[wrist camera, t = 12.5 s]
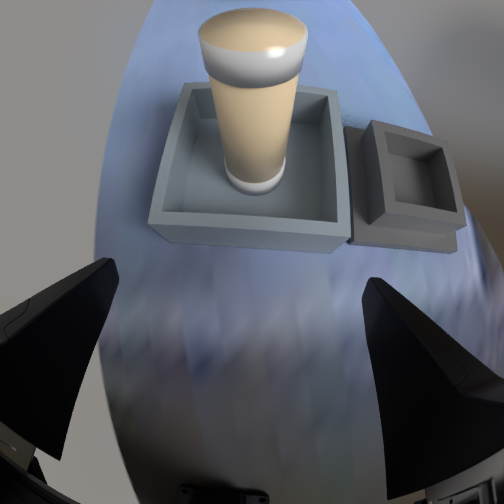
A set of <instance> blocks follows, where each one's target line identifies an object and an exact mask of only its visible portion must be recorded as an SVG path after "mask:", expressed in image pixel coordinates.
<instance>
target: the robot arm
mask: <svg viewBox="0 0 504 504" xmlns="http://www.w3.org/2000/svg"><path fill="white" fill-rule="evenodd" d="M118 283H119V275H118V272H117V268H116V264H115V261H114V259H112V258H105V257H104V258H101V259H99V260H97V261H95V262H94V263H92V264H90V265H88V266H86V267H84V268H82V269H80V270H78V271H77V272H75V273H73V274H71V275H69V276H67V277H66V278H64V279H62V280H60V281H58V282H57V283H55V284H53V285H51V286H50V287H48V288H46V289H44V290H42V291H41V292H39V293H37V294H36V295H34V296H32V297H31V298H29V299H27V300H25V301H24V302H22V303H20V304H19V305H17V306H15V307H14V308H12V309H10V310H8V311H6V312H5V313H3V314H1V315H0V504H80V503H78V502H76V501H74V500H72V499H70V498H68V497H67V496H65V495H63V494H61V493H60V492H58V491H56V490H55V489H53V488H51V487H50V486H48V485H47V482H46V480H45V477H44V475H43V472H42V470H41V468H40V465H39V462H38V460H37V458H36V457H35V456H34V453H35V450H36V447H37V448H38V449H40V450H42V451H43V452H45V453H46V454H48V455H50V456H52V457H53V458H55V459H57V460H59V461H60V459H61V456H62V452H63V447H64V443H65V439H66V435H67V431H68V427H69V423H70V419H71V416H72V412H73V409H74V406H75V402H76V399H77V396H78V393H79V389H80V386H81V384H82V381H83V378H84V375H85V372H86V369H87V366H88V364H89V361H90V358H91V356H92V353H93V350H94V348H95V345H96V343H97V340H98V338H99V335H100V333H101V330H102V328H103V326H104V323H105V321H106V318H107V316H108V313H109V310H110V307H111V304H112V301H113V298H114V295H115V292H116V289H117V286H118ZM362 307H363V315H364V323H365V333H366V340H367V345H368V350H369V354H370V359H371V364H372V369H373V375H374V380H375V386H376V392H377V398H378V404H379V411H380V418H381V426H382V434H383V443H384V455H385V467H386V484H387V500H391V499H395V498H398V497H402V496H405V495H408V494H411V493H414V492H417V491H420V490H422V489H425V493H426V498H424V499H422V500H419V501H416V502H414V504H504V379H503V378H501V377H499V376H498V375H497V374H495V373H494V372H493V371H492V370H490V369H489V368H488V367H487V366H486V365H484V364H483V363H482V362H481V361H479V360H478V359H477V358H476V357H474V356H473V355H472V354H471V353H470V352H468V351H467V350H466V349H465V348H463V347H462V346H461V345H460V344H459V343H458V342H457V341H455V340H454V339H453V338H452V337H451V336H450V335H449V334H447V333H446V332H445V331H444V330H443V329H442V328H441V327H440V326H438V325H437V324H436V323H435V322H434V321H433V320H431V319H430V318H429V317H428V316H427V315H426V314H424V313H423V312H422V311H421V310H420V309H419V308H417V307H416V306H415V305H414V304H412V303H411V302H410V301H409V300H408V299H406V298H405V297H404V296H403V295H402V294H400V293H399V292H398V291H397V290H395V289H394V288H393V287H392V286H390V285H389V284H388V283H387V282H385V281H384V280H383V279H381V278H377V277H371V278H369V279H368V281H367V284H366V287H365V290H364V292H363V295H362ZM183 489H186V490H187V491H185V490H183ZM178 495H179V504H269V495H268V494H266V493H252V492H237V491H227V490H218V489H211V488H204V487H198V486H192V485H187V484H182V485H180V487H179V489H178ZM260 498H265V499H260Z"/></svg>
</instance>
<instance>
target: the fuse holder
mask: <svg viewBox="0 0 504 504" xmlns="http://www.w3.org/2000/svg"><path fill="white" fill-rule="evenodd" d="M343 135H344V143H345V152H346V162H347V173H348V186H349V202H350V225H351V237H350V238H349V245H360V246H371V247H383V248H394V249H405V250H416V251H426V252H437V253H447V254H451V253H454V252H456V251H457V241H456V232H455V231H457V230H459V229H461V228H463V227H465V226H467V225H466V219H465V212H464V207H463V201H462V196H461V191H460V187H459V182H458V178H457V174H456V170H455V166H454V162H453V159H452V155H451V152H450V149H449V145H448V142H447V141H445V140H442V139H439V138H436V137H433V136H430V135H427V134H424V133H421V132H417V131H414V130H410V129H407V128H403V127H399V126H396V125H392V124H388V123H383V122H379V121H375V120H371V121H370V123H369V125H368V127H367V129H366V130H363V129H358V128H353V127H347V126H345V128H344V130H343Z"/></svg>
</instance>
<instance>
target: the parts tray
mask: <svg viewBox="0 0 504 504" xmlns="http://www.w3.org/2000/svg"><path fill="white" fill-rule="evenodd" d="M285 159H286V161H285V167H284V173H283V177H282V180H281V182H280V184H279V185H278V186H277V188H275V189H274V190H273V191H271V192H270V193H268V194H265V195H261V196H249V195H245V194H242V193H240V192H238V191H237V190H235V189H234V188H233V187H232V186H231V184H230V183H229V181H228V179H227V174H226V170H225V165H224V151H223V146H222V141H221V136H220V131H219V126H218V121H217V115H216V110H215V105H214V100H213V95H212V89H211V84H210V82H195V83H184V86H183V89H182V92H181V94H180V97H179V100H178V103H177V107H176V110H175V113H174V116H173V119H172V123H171V126H170V130H169V133H168V137H167V140H166V144H165V147H164V151H163V155H162V159H161V163H160V167H159V171H158V175H157V180H156V184H155V189H154V193H153V198H152V203H151V208H150V213H149V218H148V225H150V226H151V227H152V228H153V229H154V230H155V231H157V232H158V233H159V234H160V235H161V236H163V237H164V238H165V239H166V240H167V241H169V242H170V243H183V244H198V245H213V246H228V247H242V248H257V249H271V250H285V251H299V252H314V253H327V254H331V253H332V252H333V251H334V250H336V249H337V248H338V247H339V246H341V245H342V244H343V243H344V242H346V241H347V240H348V239H349V238H350V237H351V225H350V202H349V186H348V173H347V162H346V152H345V143H344V135H343V127H342V120H341V113H340V106H339V100H338V94H337V91H336V90H330V89H324V88H317V87H309V86H301V85H297V87H296V93H295V100H294V106H293V112H292V118H291V123H290V129H289V135H288V141H287V147H286V153H285Z"/></svg>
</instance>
